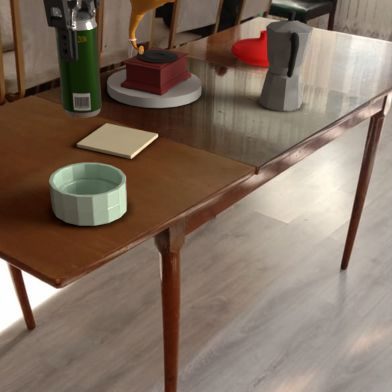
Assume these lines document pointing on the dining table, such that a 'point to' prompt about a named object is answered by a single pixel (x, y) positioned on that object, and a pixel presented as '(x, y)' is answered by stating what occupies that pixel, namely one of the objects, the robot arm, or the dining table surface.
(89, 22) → the beer can
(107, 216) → the bowl
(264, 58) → the red disc with nozzle
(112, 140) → the coaster
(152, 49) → the gramophone
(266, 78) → the coffeepot
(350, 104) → the dining table surface
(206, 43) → the dining table surface
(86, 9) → the robot arm
